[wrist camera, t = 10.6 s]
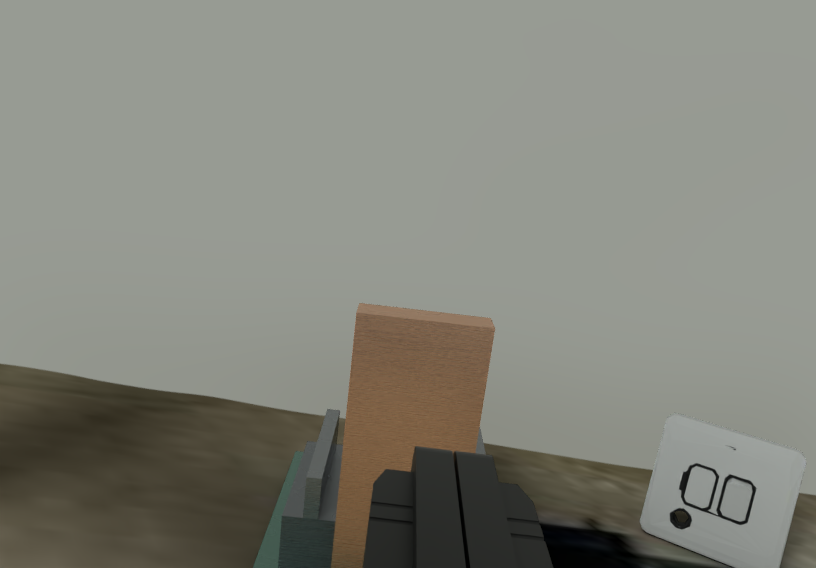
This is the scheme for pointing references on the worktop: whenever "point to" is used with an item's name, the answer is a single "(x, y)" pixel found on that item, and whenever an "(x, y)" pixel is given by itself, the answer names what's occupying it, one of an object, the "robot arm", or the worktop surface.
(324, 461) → the base
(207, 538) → the worktop surface
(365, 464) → the upright wooden plank
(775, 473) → the electrical switch
